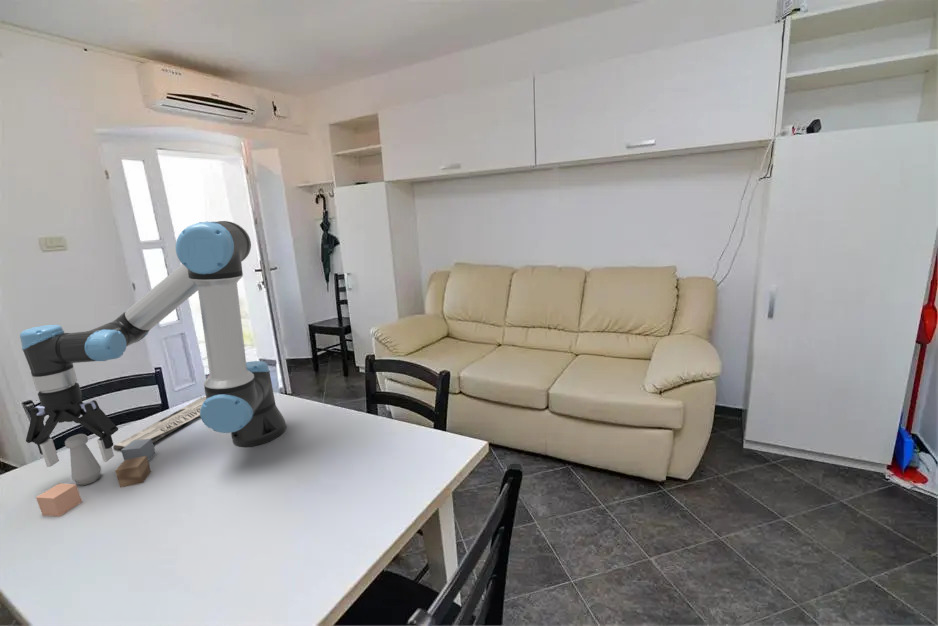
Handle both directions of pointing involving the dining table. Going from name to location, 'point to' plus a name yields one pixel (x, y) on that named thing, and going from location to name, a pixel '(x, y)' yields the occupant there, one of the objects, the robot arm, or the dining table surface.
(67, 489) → the terracotta cube
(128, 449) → the slate cube
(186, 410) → the newspaper
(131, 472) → the walnut cube
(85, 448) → the salt shaker
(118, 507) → the dining table surface
